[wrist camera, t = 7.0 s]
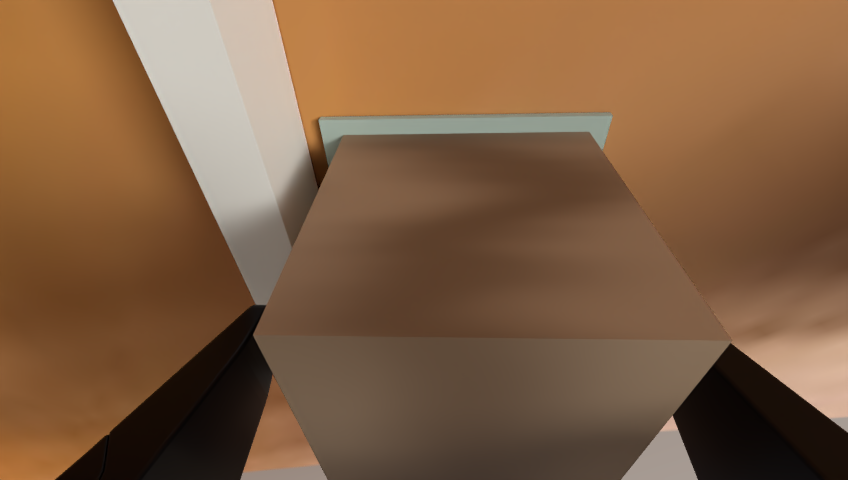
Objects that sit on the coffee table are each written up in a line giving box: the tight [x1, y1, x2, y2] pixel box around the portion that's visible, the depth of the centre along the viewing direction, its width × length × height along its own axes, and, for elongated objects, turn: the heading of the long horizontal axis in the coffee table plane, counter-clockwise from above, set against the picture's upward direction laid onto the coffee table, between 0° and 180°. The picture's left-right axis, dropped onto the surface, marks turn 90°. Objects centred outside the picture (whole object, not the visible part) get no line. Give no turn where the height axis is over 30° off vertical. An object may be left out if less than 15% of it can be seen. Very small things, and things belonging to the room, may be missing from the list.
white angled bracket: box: [113, 0, 318, 305], centre depth 10 cm, size 14×14×2 cm
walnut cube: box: [253, 132, 732, 480], centre depth 9 cm, size 6×6×6 cm
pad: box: [319, 112, 613, 167], centre depth 12 cm, size 7×7×1 cm
